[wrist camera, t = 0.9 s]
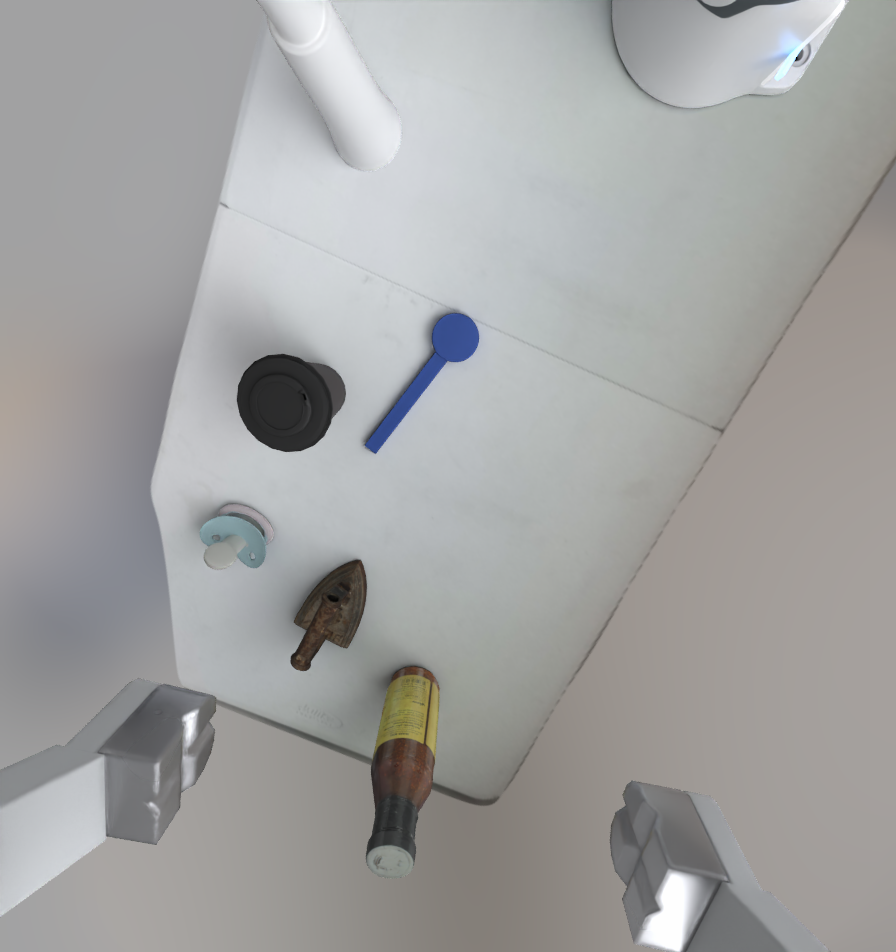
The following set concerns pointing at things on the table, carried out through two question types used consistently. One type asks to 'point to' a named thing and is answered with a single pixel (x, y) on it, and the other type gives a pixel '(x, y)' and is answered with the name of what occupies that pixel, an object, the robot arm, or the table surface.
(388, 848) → the sauce bottle
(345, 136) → the cosmetic bottle
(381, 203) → the table surface
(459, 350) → the spoon
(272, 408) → the coffee cup
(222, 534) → the pacifier
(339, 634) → the clothes iron
